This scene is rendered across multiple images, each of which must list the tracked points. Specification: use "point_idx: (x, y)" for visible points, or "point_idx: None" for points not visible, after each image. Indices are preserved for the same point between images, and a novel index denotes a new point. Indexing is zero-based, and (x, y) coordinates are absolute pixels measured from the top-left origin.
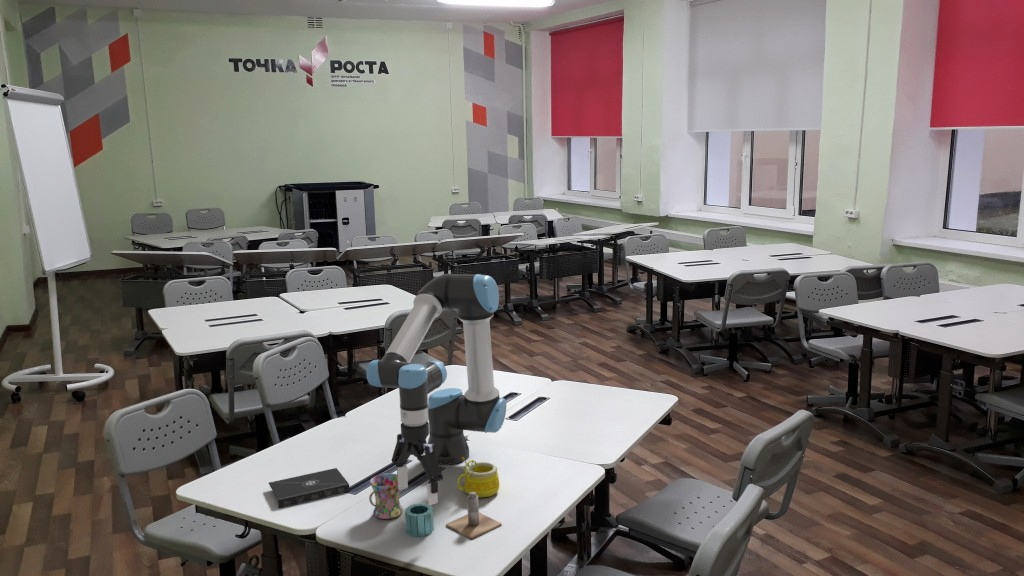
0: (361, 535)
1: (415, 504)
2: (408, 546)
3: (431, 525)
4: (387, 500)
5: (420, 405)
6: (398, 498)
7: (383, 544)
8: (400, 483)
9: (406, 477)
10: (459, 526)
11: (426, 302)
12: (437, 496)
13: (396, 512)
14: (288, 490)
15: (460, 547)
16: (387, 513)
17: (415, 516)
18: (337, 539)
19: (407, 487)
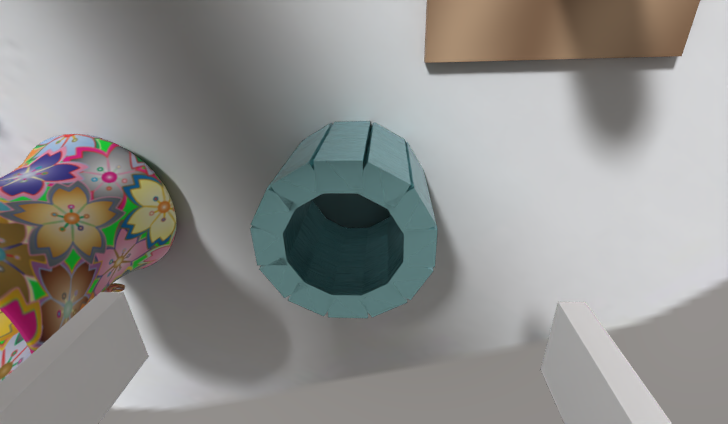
0: (236, 353)
1: (258, 220)
2: (437, 297)
3: (423, 179)
4: (100, 290)
5: None
6: (77, 206)
7: (351, 341)
8: (105, 403)
9: (43, 388)
10: (518, 17)
11: None
12: (619, 350)
13: (158, 210)
14: None
15: (657, 155)
16: (152, 251)
17: (399, 303)
18: (214, 403)
19: (123, 296)
